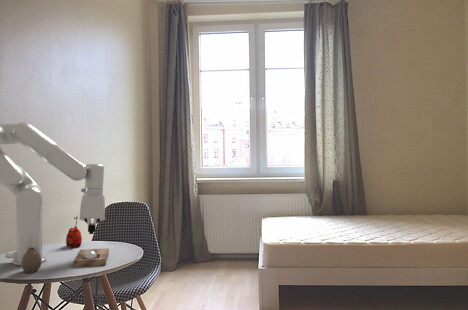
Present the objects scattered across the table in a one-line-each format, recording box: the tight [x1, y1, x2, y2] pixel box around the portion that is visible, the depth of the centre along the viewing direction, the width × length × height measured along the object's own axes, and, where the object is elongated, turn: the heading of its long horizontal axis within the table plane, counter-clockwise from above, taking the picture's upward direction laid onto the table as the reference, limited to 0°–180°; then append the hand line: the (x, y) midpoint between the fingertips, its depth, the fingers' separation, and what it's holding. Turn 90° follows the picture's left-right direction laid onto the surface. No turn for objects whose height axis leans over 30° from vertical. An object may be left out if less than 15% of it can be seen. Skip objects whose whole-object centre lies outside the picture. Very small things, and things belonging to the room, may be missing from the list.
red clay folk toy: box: [65, 215, 83, 249], centre depth 193 cm, size 8×7×15 cm
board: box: [73, 247, 110, 268], centre depth 170 cm, size 12×18×2 cm, turn 14°
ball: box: [84, 251, 97, 259], centre depth 165 cm, size 5×5×5 cm
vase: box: [20, 248, 42, 273], centre depth 154 cm, size 7×7×9 cm
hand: (91, 233), depth 177 cm, fingers closed
